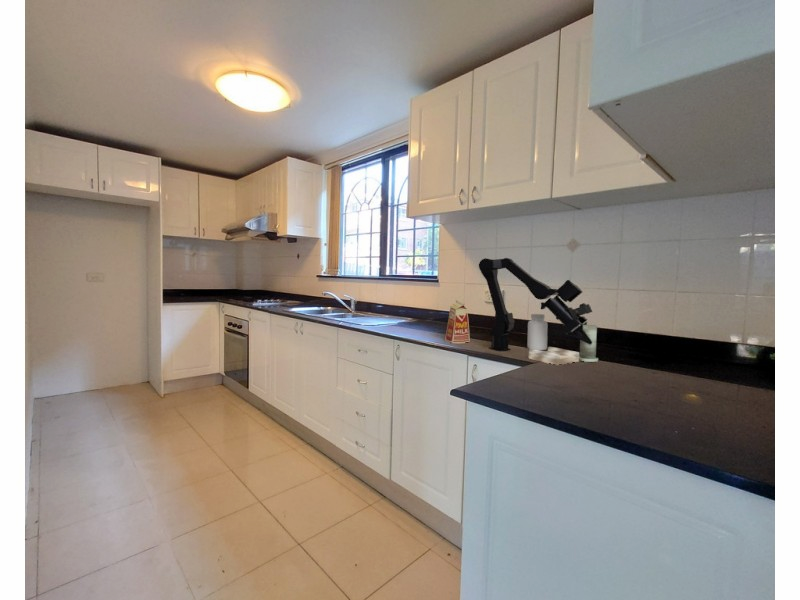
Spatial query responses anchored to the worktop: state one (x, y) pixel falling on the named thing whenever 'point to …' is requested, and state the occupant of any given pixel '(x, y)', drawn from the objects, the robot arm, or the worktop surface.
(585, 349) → the pale green cylinder
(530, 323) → the pill bottle
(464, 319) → the milk carton
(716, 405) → the worktop surface
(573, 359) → the mottled cream slab
